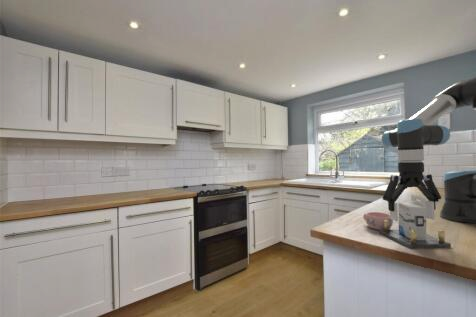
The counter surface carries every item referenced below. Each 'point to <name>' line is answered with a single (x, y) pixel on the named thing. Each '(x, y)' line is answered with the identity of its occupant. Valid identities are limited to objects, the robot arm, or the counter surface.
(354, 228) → the counter surface
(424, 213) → the ink box
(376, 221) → the pink bowl
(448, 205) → the robot arm
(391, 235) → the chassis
